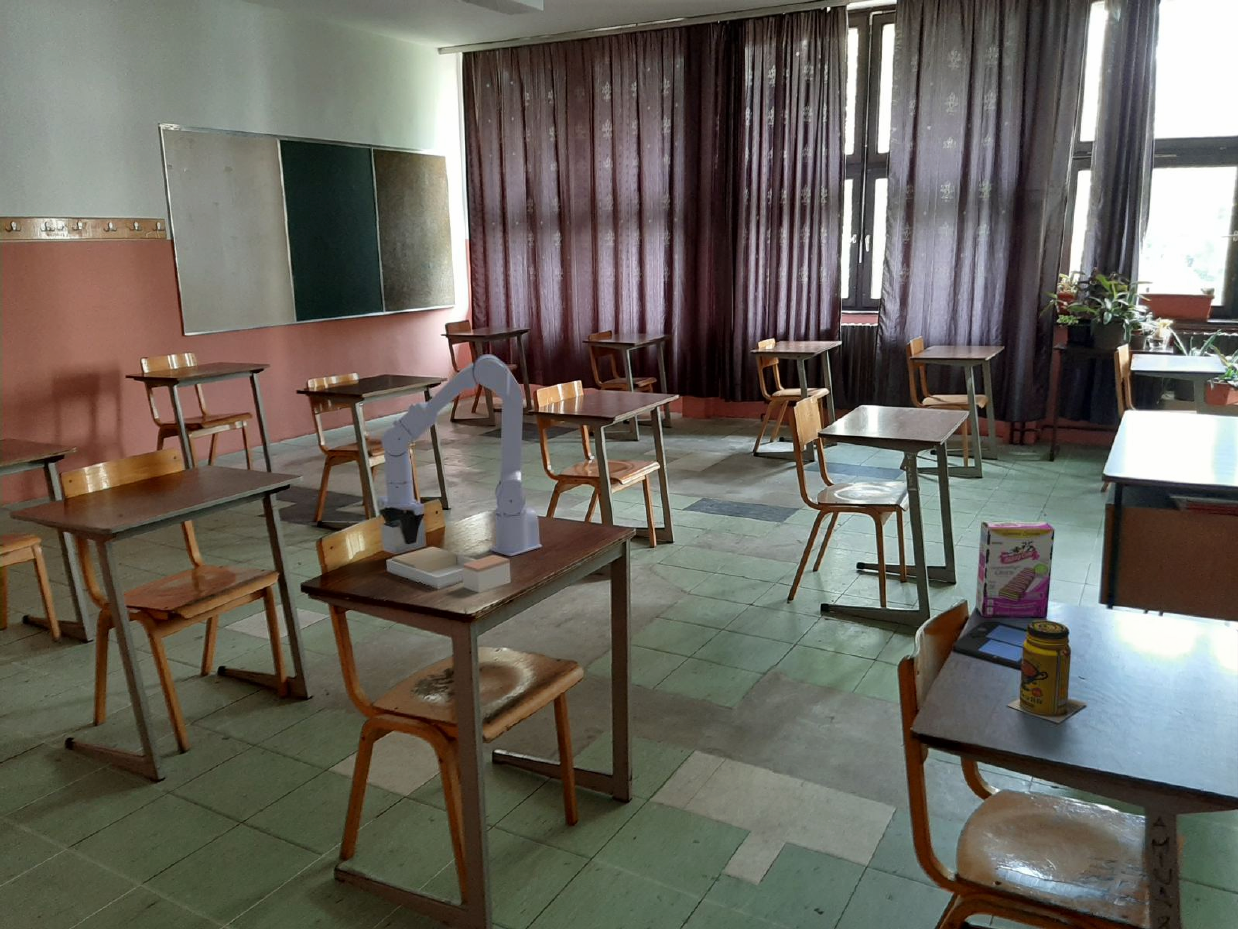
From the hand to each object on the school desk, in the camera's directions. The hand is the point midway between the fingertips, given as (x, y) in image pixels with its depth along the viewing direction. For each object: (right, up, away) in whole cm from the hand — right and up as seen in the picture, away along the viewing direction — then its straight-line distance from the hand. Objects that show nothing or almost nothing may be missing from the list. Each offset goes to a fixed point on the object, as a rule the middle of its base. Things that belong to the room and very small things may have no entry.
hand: (404, 541), depth 205 cm
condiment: (+107, -17, -76) cm, 133 cm away
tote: (+9, -6, -10) cm, 15 cm away
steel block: (0, -2, 0) cm, 2 cm away
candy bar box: (+117, -10, -42) cm, 125 cm away
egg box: (+21, -7, -19) cm, 29 cm away
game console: (+110, -13, -57) cm, 125 cm away
